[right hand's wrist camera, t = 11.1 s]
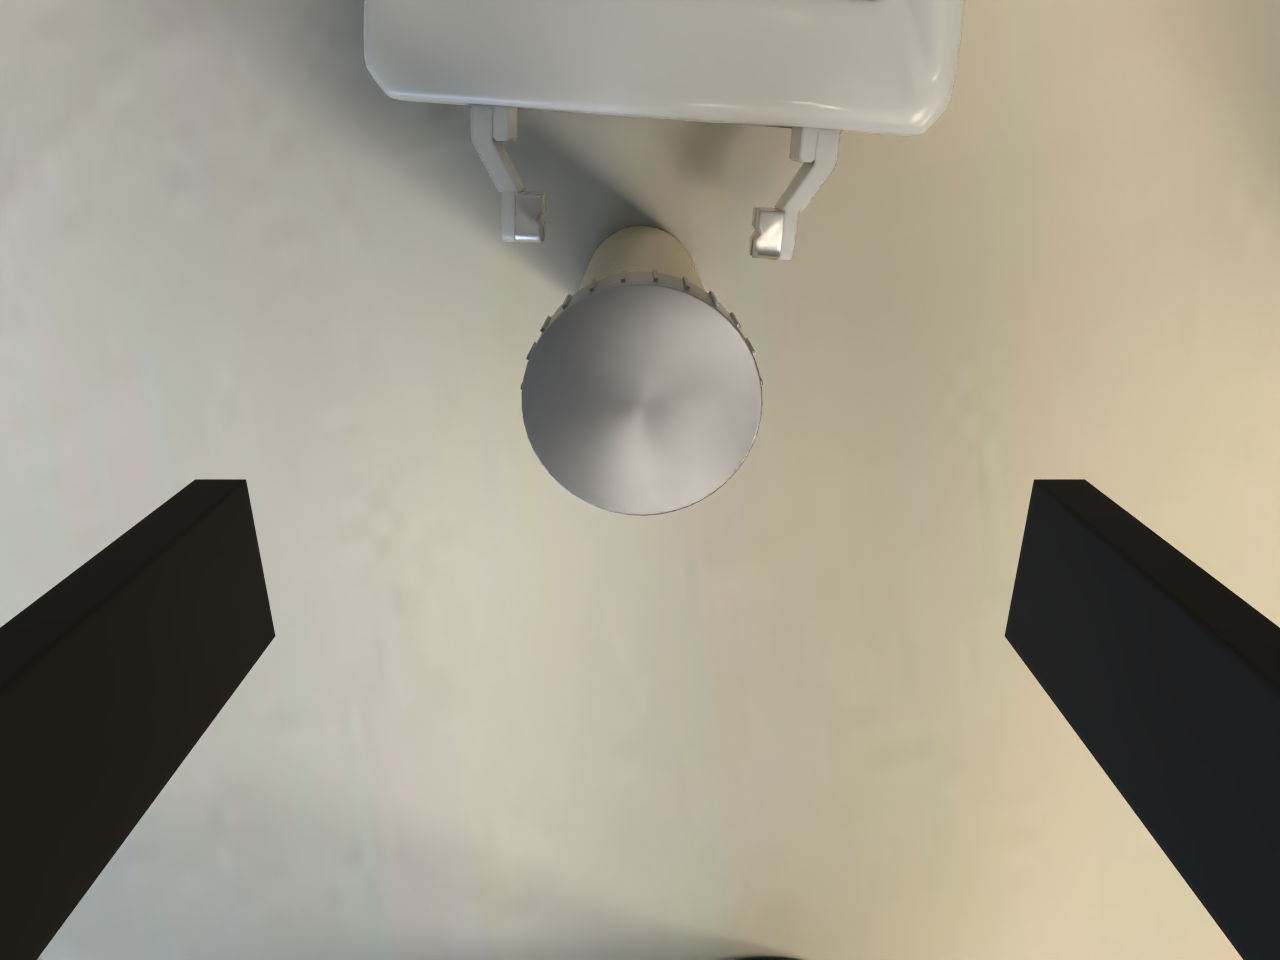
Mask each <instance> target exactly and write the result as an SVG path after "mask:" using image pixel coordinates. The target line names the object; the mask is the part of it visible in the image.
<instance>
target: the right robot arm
mask: <svg viewBox="0 0 1280 960" xmlns="http://www.w3.org/2000/svg"><path fill="white" fill-rule="evenodd" d="M274 637H275V632H274V627H273V621H272V616H271V611H270V605H269V600H268V595H267V589H266V584H265V579H264V573H263V568H262V563H261V557H260V552H259V547H258V541H257V536H256V531H255V525H254V520H253V515H252V509H251V504H250V499H249V493H248V488H247V483H246V480H194V481H193V482H191V483H190V484H189V485H187V486H186V487H185V488H184V489H182V490H181V491H180V492H178V493H177V494H176V495H174V496H173V497H172V498H170V499H169V500H168V501H166V502H165V503H164V504H163V505H161V506H160V507H159V508H157V509H156V510H155V511H153V512H152V513H151V514H149V515H148V516H147V517H145V518H144V519H143V520H141V521H140V522H139V523H138V524H136V525H135V526H134V527H132V528H131V529H130V530H128V531H127V532H126V533H124V534H123V535H122V536H120V537H119V538H118V539H116V540H115V541H114V542H113V543H111V544H110V545H109V546H107V547H106V548H105V549H103V550H102V551H101V552H99V553H98V554H97V555H95V556H94V557H93V558H91V559H90V560H89V561H88V562H86V563H85V564H84V565H82V566H81V567H80V568H78V569H77V570H76V571H74V572H73V573H72V574H70V575H69V576H68V577H66V578H65V579H64V580H63V581H61V582H60V583H59V584H57V585H56V586H55V587H53V588H52V589H51V590H49V591H48V592H47V593H45V594H44V595H43V596H41V597H40V598H39V599H38V600H36V601H35V602H34V603H32V604H31V605H30V606H28V607H27V608H26V609H24V610H23V611H22V612H20V613H19V614H18V615H16V616H15V617H14V618H13V619H11V620H10V621H9V622H7V623H6V624H5V625H3V626H2V627H1V628H0V960H37V958H38V957H39V956H40V954H41V953H42V952H43V950H44V949H45V948H46V946H47V945H48V944H49V942H50V941H51V939H52V938H53V937H54V935H55V934H56V933H57V931H58V930H59V929H60V927H61V926H62V925H63V923H64V922H65V920H66V919H67V918H68V916H69V915H70V914H71V912H72V911H73V910H74V908H75V907H76V906H77V904H78V903H79V901H80V900H81V899H82V897H83V896H84V895H85V893H86V892H87V891H88V889H89V888H90V887H91V885H92V884H93V882H94V881H95V880H96V878H97V877H98V876H99V874H100V873H101V872H102V870H103V869H104V868H105V866H106V865H107V864H108V862H109V861H110V859H111V858H112V857H113V855H114V854H115V853H116V851H117V850H118V849H119V847H120V846H121V845H122V843H123V842H124V840H125V839H126V838H127V836H128V835H129V834H130V832H131V831H132V830H133V828H134V827H135V826H136V824H137V823H138V821H139V820H140V819H141V817H142V816H143V815H144V813H145V812H146V811H147V809H148V808H149V807H150V805H151V804H152V803H153V801H154V800H155V798H156V797H157V796H158V794H159V793H160V792H161V790H162V789H163V788H164V786H165V785H166V784H167V782H168V781H169V779H170V778H171V777H172V775H173V774H174V773H175V771H176V770H177V769H178V767H179V766H180V765H181V763H182V762H183V760H184V759H185V758H186V756H187V755H188V754H189V752H190V751H191V750H192V748H193V747H194V746H195V744H196V743H197V741H198V740H199V739H200V737H201V736H202V735H203V733H204V732H205V731H206V729H207V728H208V727H209V725H210V724H211V723H212V721H213V720H214V718H215V717H216V716H217V714H218V713H219V712H220V710H221V709H222V708H223V706H224V705H225V704H226V702H227V701H228V699H229V698H230V697H231V695H232V694H233V693H234V691H235V690H236V689H237V687H238V686H239V685H240V683H241V682H242V680H243V679H244V678H245V676H246V675H247V674H248V672H249V671H250V670H251V668H252V667H253V666H254V664H255V663H256V661H257V660H258V659H259V657H260V656H261V655H262V653H263V652H264V651H265V649H266V648H267V647H268V645H269V644H270V643H271V641H272V640H273V638H274ZM1005 637H1006V638H1007V640H1008V641H1009V642H1010V644H1011V645H1012V647H1013V648H1014V649H1015V651H1016V652H1017V653H1018V655H1019V656H1020V657H1021V659H1022V660H1023V661H1024V663H1025V664H1026V666H1027V667H1028V668H1029V670H1030V671H1031V672H1032V674H1033V675H1034V676H1035V678H1036V679H1037V680H1038V682H1039V683H1040V685H1041V686H1042V687H1043V689H1044V690H1045V691H1046V693H1047V694H1048V695H1049V697H1050V698H1051V699H1052V701H1053V702H1054V704H1055V705H1056V706H1057V708H1058V709H1059V710H1060V712H1061V713H1062V714H1063V716H1064V717H1065V718H1066V720H1067V721H1068V722H1069V724H1070V725H1071V727H1072V728H1073V729H1074V731H1075V732H1076V733H1077V735H1078V736H1079V737H1080V739H1081V740H1082V741H1083V743H1084V744H1085V746H1086V747H1087V748H1088V750H1089V751H1090V752H1091V754H1092V755H1093V756H1094V758H1095V759H1096V760H1097V762H1098V763H1099V765H1100V766H1101V767H1102V769H1103V770H1104V771H1105V773H1106V774H1107V775H1108V777H1109V778H1110V779H1111V781H1112V782H1113V784H1114V785H1115V786H1116V788H1117V789H1118V790H1119V792H1120V793H1121V794H1122V796H1123V797H1124V798H1125V800H1126V801H1127V802H1128V804H1129V805H1130V807H1131V808H1132V809H1133V811H1134V812H1135V813H1136V815H1137V816H1138V817H1139V819H1140V820H1141V821H1142V823H1143V824H1144V826H1145V827H1146V828H1147V830H1148V831H1149V832H1150V834H1151V835H1152V836H1153V838H1154V839H1155V840H1156V842H1157V843H1158V845H1159V846H1160V847H1161V849H1162V850H1163V851H1164V853H1165V854H1166V855H1167V857H1168V858H1169V859H1170V861H1171V862H1172V864H1173V865H1174V866H1175V868H1176V869H1177V870H1178V872H1179V873H1180V874H1181V876H1182V877H1183V878H1184V880H1185V881H1186V882H1187V884H1188V885H1189V887H1190V888H1191V889H1192V891H1193V892H1194V893H1195V895H1196V896H1197V897H1198V899H1199V900H1200V901H1201V903H1202V904H1203V906H1204V907H1205V908H1206V910H1207V911H1208V912H1209V914H1210V915H1211V916H1212V918H1213V919H1214V920H1215V922H1216V923H1217V925H1218V926H1219V927H1220V929H1221V930H1222V931H1223V933H1224V934H1225V935H1226V937H1227V938H1228V939H1229V941H1230V942H1231V944H1232V945H1233V946H1234V948H1235V949H1236V950H1237V952H1238V953H1239V954H1240V956H1241V957H1242V958H1243V960H1280V628H1279V627H1278V626H1277V625H1275V624H1274V623H1273V622H1271V621H1270V620H1269V619H1267V618H1266V617H1265V616H1264V615H1262V614H1261V613H1260V612H1258V611H1257V610H1256V609H1254V608H1253V607H1252V606H1250V605H1249V604H1248V603H1246V602H1245V601H1244V600H1242V599H1241V598H1240V597H1239V596H1237V595H1236V594H1235V593H1233V592H1232V591H1231V590H1229V589H1228V588H1227V587H1225V586H1224V585H1223V584H1221V583H1220V582H1219V581H1217V580H1216V579H1215V578H1214V577H1212V576H1211V575H1210V574H1208V573H1207V572H1206V571H1204V570H1203V569H1202V568H1200V567H1199V566H1198V565H1196V564H1195V563H1194V562H1192V561H1191V560H1190V559H1189V558H1187V557H1186V556H1185V555H1183V554H1182V553H1181V552H1179V551H1178V550H1177V549H1175V548H1174V547H1173V546H1171V545H1170V544H1169V543H1167V542H1166V541H1165V540H1164V539H1162V538H1161V537H1160V536H1158V535H1157V534H1156V533H1154V532H1153V531H1152V530H1150V529H1149V528H1148V527H1146V526H1145V525H1144V524H1142V523H1141V522H1140V521H1139V520H1137V519H1136V518H1135V517H1133V516H1132V515H1131V514H1129V513H1128V512H1127V511H1125V510H1124V509H1123V508H1121V507H1120V506H1119V505H1118V504H1116V503H1115V502H1114V501H1112V500H1111V499H1110V498H1108V497H1107V496H1106V495H1104V494H1103V493H1102V492H1100V491H1099V490H1098V489H1096V488H1095V487H1094V486H1093V485H1091V484H1090V483H1089V482H1087V481H1086V480H1034V483H1033V488H1032V493H1031V499H1030V504H1029V509H1028V515H1027V520H1026V525H1025V531H1024V536H1023V541H1022V547H1021V552H1020V557H1019V563H1018V568H1017V573H1016V579H1015V584H1014V589H1013V595H1012V600H1011V605H1010V611H1009V616H1008V621H1007V627H1006V632H1005Z"/></svg>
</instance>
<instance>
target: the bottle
mask: <svg viewBox="0 0 1280 960" xmlns="http://www.w3.org/2000/svg"><path fill="white" fill-rule="evenodd" d="M653 269H657V272H658V273H662V274H668V275H672V276H675V277H678V278H681V279H682V278H683V276H684V277H687V279H688V282H690V283H692V284H694V285H697V286H698V287H700V288H701V289H703V290H704V287H703V285H702V283H701V281H700V278H699V276H698V274H697V271H696V269H695V267H694V265H693V262H692V260H691V258H690V256H689V254H688V252H687V251H686V249H685V248H684V246H683V245H682V244H681V243H680V242H679V241H678V240H677V239H676V238H675V237H673V236H672V235H670V234H669V233H667V232H665V231H663V230H661V229H658V228H655V227H649V226H632V227H628V228H624V229H622V230H619V231H617V232H615V233H613V234H612V235H610V236H609V237H608V238H606V239H605V240H604V241H603V242H602V243H601V244H600V245H599V247H598V248H597V249H596V251H595V252H594V254H593V256H592V258H591V260H590V263H589V265H588V267H587V270H586V272H585V275H584V277H583V279H582V282H581V284H580V287H579V289H578V291H579V290H581V289H582V288H584V287H586V286H588V285H589V284H591V282H592V279H595V278H596V279H597V281H598V280H600V279H603V278H606V277H608V276H612V275H617V274H621V273H622V270H626V273H627V272H639V271H641V272H653ZM578 291H577V292H578ZM704 291H705V290H704Z"/></svg>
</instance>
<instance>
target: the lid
mask: <svg viewBox="0 0 1280 960" xmlns="http://www.w3.org/2000/svg"><path fill="white" fill-rule="evenodd" d="M740 327H741V326H740V324H739V322H738V320H737V318H736V317H735V315H734V313H733V312H732V313H730V314H729V312H728V311H727V310H726V309H725V308H724V307H723V305H722V304H721V303H719V302H718V301H717V299H716V297H715V295H714V293H713V292H711V291H710V292H709V293H707V292H706V291H704V290H703V289H701V288H700V287H698V286H697V285H694V284H692V283H690V282H688V279H687V277H684V276H683V278H682V279H681V278H678V277H675V276H672V275H668V274H662V273H658V272H657V269H653V272H641V271H639V272H627V273H626V270H622V273H621V274H617V275H612V276H608V277H606V278H603V279H600V280H598V281H597V279H596V278H595V279H592V282H591V284H589V285H588V286H586V287H584V288H582V289H581V290H579V291H578V292H576V293H575V294H574V295H572V296H571V295H570V294H569V295H567V296H566V298H565V301H564V303H563V304H562V305H561V306H560V307H559V308H558V310H557V311H556V312H555V313H554V315H553V316H552V317H550V316H548V317H547V319H546V320H545V322H544V324H543V326H542V328H541V330H540V331H541V332H542V334H541V336H540V337H539V339H538V341H537V343H536V342H534V344H533V346H532V348H531V350H530V352H529V354H528V355H527V358H526V359H527V360H529V361H528V364H527V367H526V371H525V375H524V379H523V383H522V385H521V390H522V413H523V420H524V425H525V428H526V432H527V435H528V438H529V441H530V443H531V445H532V447H533V450H534V452H535V453H536V455H537V457H538V458H539V460H540V462H541V463H542V465H543V466H544V467H545V469H546V470H547V471H548V472H549V474H550V475H551V476H552V477H553V478H554V479H555V480H556V481H557V482H558V483H559V484H560V485H561V486H562V487H564V488H565V489H566V490H568V491H569V492H570V493H572V494H573V495H575V496H576V497H578V498H580V499H581V500H583V501H585V502H587V503H589V504H591V505H594V506H596V507H598V508H601V509H605V510H608V511H611V512H615V513H621V514H627V515H656V514H663V513H668V512H673V511H676V510H679V509H682V508H685V507H688V506H690V505H692V504H694V503H697V502H699V501H701V500H703V499H704V498H706V497H707V496H709V495H711V494H712V493H714V492H715V491H716V490H717V489H719V488H720V487H721V486H722V485H724V484H725V483H726V482H727V481H728V480H729V479H730V478H731V477H732V476H733V474H734V473H735V472H736V471H737V470H738V468H739V467H740V466H741V464H742V463H743V462H744V460H745V458H746V457H747V455H748V453H749V451H750V449H751V447H752V445H753V443H754V440H755V437H756V435H757V432H758V428H759V424H760V420H761V414H762V386H761V385H763V381H762V379H761V377H760V374H759V371H758V367H757V364H756V361H755V358H754V355H756V353H755V351H754V349H753V347H752V345H751V343H750V341H749V340H748V338H744V336H743V334H742V332H741V330H740Z"/></svg>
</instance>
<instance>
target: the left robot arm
mask: <svg viewBox="0 0 1280 960" xmlns="http://www.w3.org/2000/svg"><path fill="white" fill-rule="evenodd" d="M964 1H965V0H364V29H363V42H364V59H365V64H366V67H367V69H368V71H369V72H370V74H371V75H372V77H373V78H374V80H375V81H376V82H377V84H378V85H379V86H380V88H381V89H382V90H383V91H384V92H385V94H386V95H388V96H389V97H391V98H394V99H398V100H403V101H413V102H426V103H441V104H455V105H469V106H470V140H471V142H472V143H473V145H474V147H475V149H476V151H477V153H478V155H479V157H480V158H481V160H482V162H483V164H484V166H485V168H486V170H487V172H488V173H489V175H490V177H491V179H492V181H493V183H494V185H495V186H496V188H497V190H498V191H499V192H502V239H503V241H506V242H521V243H542V242H544V239H545V229H546V222H545V221H544V219H543V217H542V215H543V214H544V212H545V211H546V193H544V192H533V191H524V190H525V188H524V186H523V184H522V182H521V180H520V178H519V176H518V174H517V172H516V170H515V168H514V166H513V164H512V162H511V160H510V158H509V156H508V154H507V152H506V150H505V148H504V146H503V144H502V141H510V142H514V141H515V140H516V139H517V124H518V109H526V110H540V111H554V112H569V113H583V114H597V115H611V116H625V117H640V118H654V119H668V120H682V121H696V122H711V123H725V124H739V125H753V126H767V127H782V128H792V136H791V146H790V155H789V158H790V159H791V161H797V162H804V164H803V165H802V167H801V168H800V169H799V171H798V172H797V174H796V175H795V177H794V178H793V180H792V181H791V183H790V184H789V186H788V187H787V189H786V190H785V192H784V193H783V195H782V196H781V198H780V199H779V201H778V202H777V204H776V205H775V208H766V207H754V209H753V218H752V226H753V228H754V229H755V231H754V233H753V234H752V235H751V236H750V248H749V252H750V255H751V256H752V257H753V258H763V259H774V260H789V261H791V258H792V255H793V252H794V245H795V237H796V229H797V222H798V214H799V212H803V210H804V209H805V208H806V206H807V205H808V203H809V202H810V201H811V199H812V198H813V196H814V195H815V194H816V192H817V191H818V190H819V188H820V187H821V185H822V184H823V183H824V181H825V180H826V178H827V177H828V176H829V174H830V173H831V172H832V170H833V169H834V167H835V166H836V161H837V154H838V148H839V141H840V134H841V132H853V133H867V134H881V135H897V136H913V135H920V134H922V133H924V132H925V131H926V130H927V129H928V128H929V127H930V126H931V125H932V124H933V123H934V122H935V121H936V120H937V119H938V118H939V117H940V116H941V114H942V113H943V112H944V111H945V110H946V108H947V106H948V104H949V102H950V99H951V96H952V91H953V86H954V81H955V75H956V69H957V63H958V56H959V49H960V41H961V32H962V23H963V12H964Z"/></svg>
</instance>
